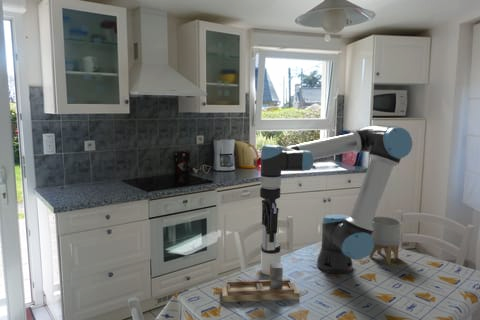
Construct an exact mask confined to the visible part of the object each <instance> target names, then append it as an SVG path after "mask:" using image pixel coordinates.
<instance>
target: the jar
mask: <svg viewBox="0 0 480 320" xmlns="http://www.w3.org/2000/svg"><path fill="white" fill-rule="evenodd" d="M260 246H261V247H260V271H261V274H263V275H267V276H270V263H281V261H282V259H281V257H282V256H281V254H282V253H281V249H282V248H281V243H280V242H278V241H276V243H275V250H264V248H263V247H262V243H261V245H260ZM281 264H282V263H281Z"/></svg>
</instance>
